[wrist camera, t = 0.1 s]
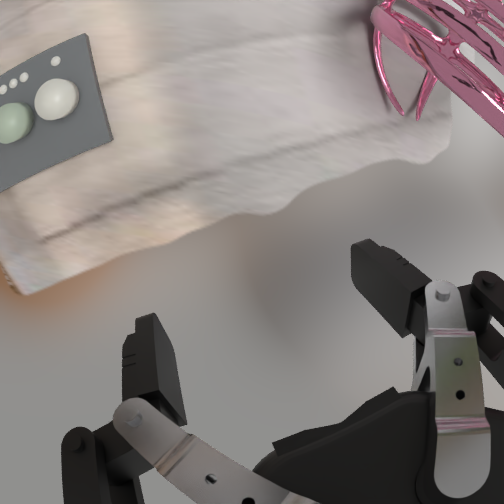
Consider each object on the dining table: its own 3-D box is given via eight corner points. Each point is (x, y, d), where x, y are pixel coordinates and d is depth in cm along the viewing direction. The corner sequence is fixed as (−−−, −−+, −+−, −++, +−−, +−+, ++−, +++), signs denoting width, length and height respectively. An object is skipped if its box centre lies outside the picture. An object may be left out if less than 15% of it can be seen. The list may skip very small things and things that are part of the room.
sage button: (-1, 112, 23) (-12, 114, 20) (28, 95, 24) (18, 96, 21) (8, 145, 25) (-3, 150, 23) (37, 130, 26) (28, 133, 23)
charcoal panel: (-38, 106, 22) (-46, 108, 20) (88, 36, 25) (84, 32, 23) (-11, 197, 29) (-18, 202, 27) (113, 139, 32) (110, 141, 30)
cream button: (40, 89, 24) (30, 89, 21) (74, 73, 24) (67, 71, 22) (49, 124, 26) (40, 127, 24) (83, 109, 27) (76, 110, 24)
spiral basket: (503, 232, 33) (619, 117, 10) (346, 155, 28) (487, -69, 5) (449, 118, 47) (517, 25, 24) (326, 54, 43) (389, -71, 20)
